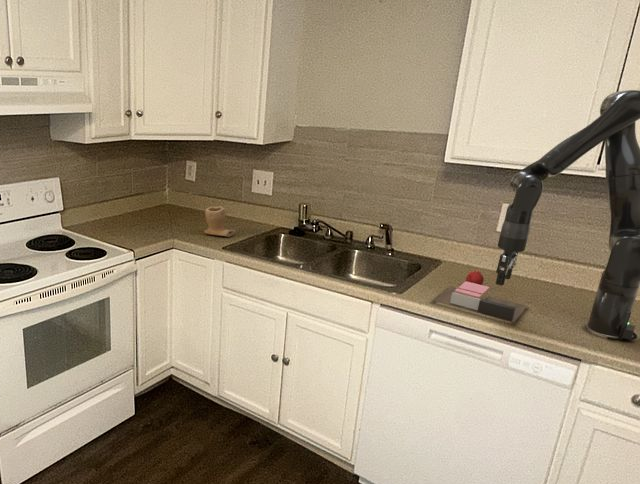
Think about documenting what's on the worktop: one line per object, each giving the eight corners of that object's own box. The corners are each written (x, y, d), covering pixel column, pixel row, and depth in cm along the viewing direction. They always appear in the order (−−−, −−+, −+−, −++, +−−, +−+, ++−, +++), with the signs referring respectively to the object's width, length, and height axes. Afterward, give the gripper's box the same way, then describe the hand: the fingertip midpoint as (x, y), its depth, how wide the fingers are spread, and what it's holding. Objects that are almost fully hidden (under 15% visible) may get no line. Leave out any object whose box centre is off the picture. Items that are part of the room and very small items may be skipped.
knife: (513, 318, 173) (515, 307, 172) (511, 320, 172) (513, 309, 170) (451, 301, 186) (453, 291, 185) (449, 303, 184) (451, 293, 183)
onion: (465, 284, 205) (469, 265, 203) (482, 288, 202) (486, 268, 199) (463, 288, 201) (466, 269, 199) (480, 292, 197) (484, 272, 195)
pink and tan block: (479, 305, 184) (482, 294, 182) (477, 307, 181) (479, 296, 180) (455, 298, 189) (457, 288, 188) (452, 300, 187) (454, 290, 186)
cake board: (526, 308, 184) (527, 305, 184) (513, 325, 170) (513, 322, 170) (450, 289, 201) (450, 286, 200) (432, 303, 187) (432, 300, 187)
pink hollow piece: (199, 235, 268) (200, 207, 263) (210, 230, 278) (211, 203, 273) (226, 240, 260) (227, 211, 256) (236, 235, 270) (238, 207, 265)
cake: (487, 297, 191) (490, 287, 189) (480, 303, 184) (483, 293, 183) (463, 291, 196) (465, 281, 195) (456, 297, 190) (458, 287, 189)
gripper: (522, 241, 160) (510, 290, 165) (532, 233, 170) (521, 279, 175) (494, 236, 165) (484, 283, 170) (506, 228, 175) (495, 273, 180)
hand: (502, 281), depth 172 cm, fingers open, 8 cm apart
